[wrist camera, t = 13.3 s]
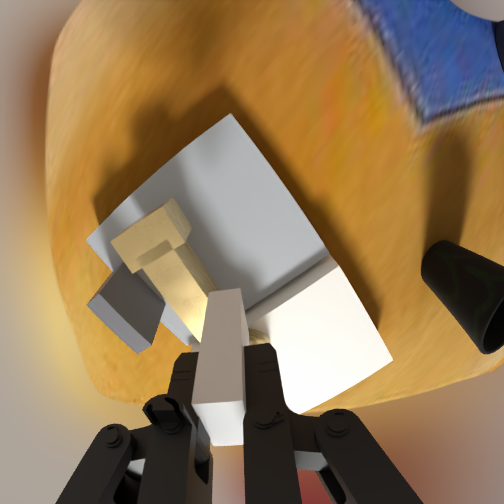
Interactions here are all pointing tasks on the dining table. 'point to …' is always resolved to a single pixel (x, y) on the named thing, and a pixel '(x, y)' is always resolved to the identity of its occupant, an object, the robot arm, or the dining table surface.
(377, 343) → the doorframe
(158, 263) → the bar
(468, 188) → the dining table surface
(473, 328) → the cup
